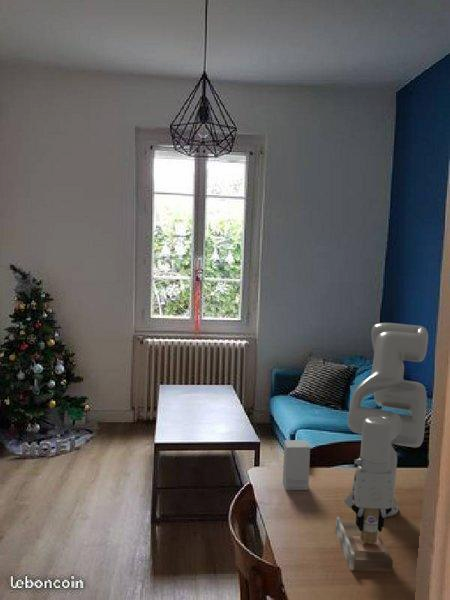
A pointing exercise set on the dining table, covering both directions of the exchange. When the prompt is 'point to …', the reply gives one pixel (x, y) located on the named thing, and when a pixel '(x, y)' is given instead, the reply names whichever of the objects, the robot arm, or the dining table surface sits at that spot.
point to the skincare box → (296, 465)
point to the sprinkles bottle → (370, 525)
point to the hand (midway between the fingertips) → (369, 527)
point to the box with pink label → (362, 549)
